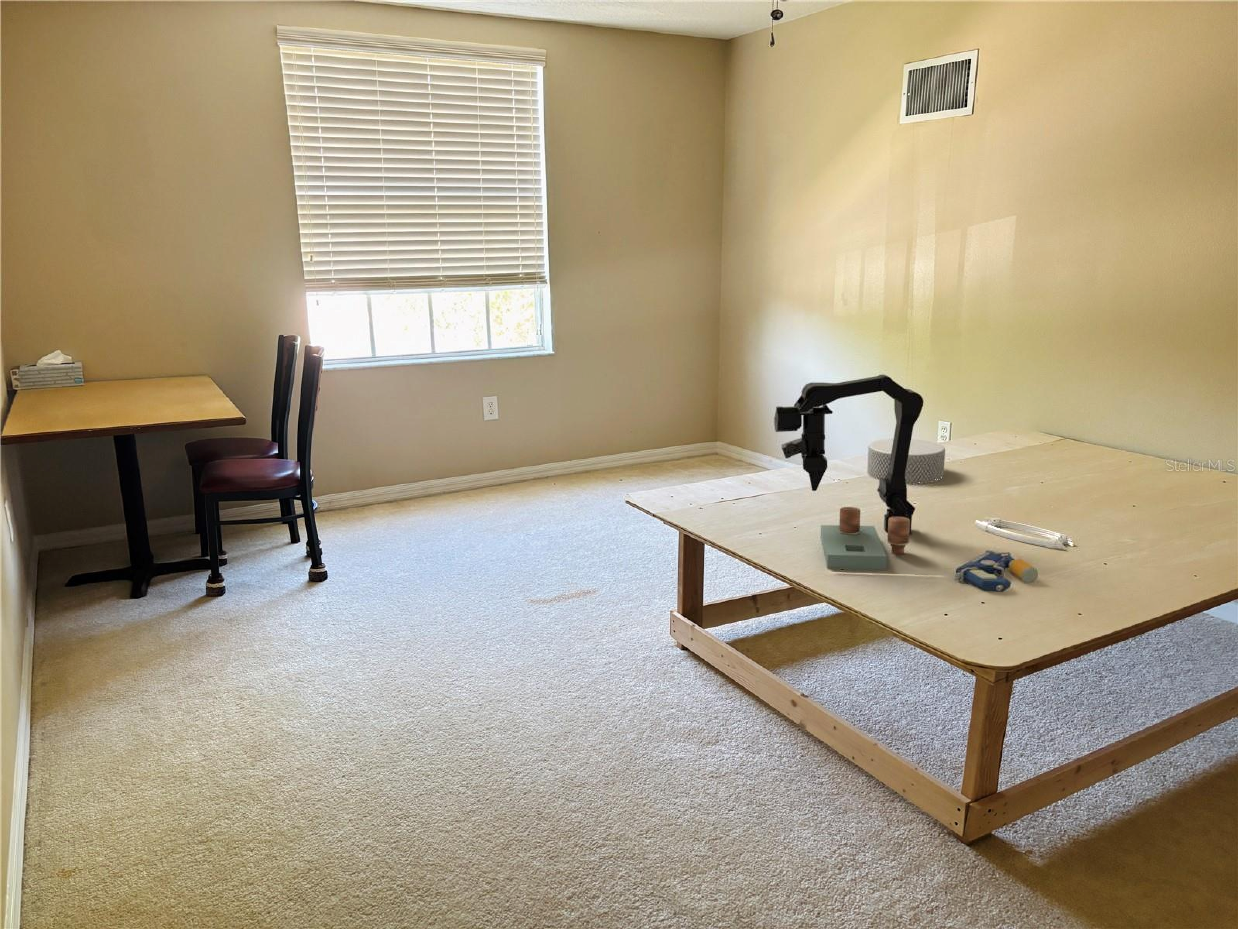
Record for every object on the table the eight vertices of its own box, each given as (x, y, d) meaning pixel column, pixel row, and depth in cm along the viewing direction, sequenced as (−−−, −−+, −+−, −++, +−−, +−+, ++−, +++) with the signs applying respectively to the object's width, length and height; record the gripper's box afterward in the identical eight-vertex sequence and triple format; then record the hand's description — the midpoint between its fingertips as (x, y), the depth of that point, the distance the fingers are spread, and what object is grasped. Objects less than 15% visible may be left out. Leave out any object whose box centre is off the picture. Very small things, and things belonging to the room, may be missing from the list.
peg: (906, 551, 216) (908, 516, 214) (909, 558, 211) (912, 523, 209) (885, 551, 217) (886, 516, 215) (888, 558, 212) (890, 522, 210)
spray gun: (1050, 575, 199) (989, 560, 210) (1051, 558, 198) (989, 544, 209) (1009, 602, 186) (946, 585, 197) (1010, 584, 185) (946, 568, 196)
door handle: (989, 523, 238) (1078, 545, 218) (969, 530, 232) (1059, 553, 212) (989, 513, 237) (1079, 535, 217) (969, 521, 232) (1060, 543, 212)
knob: (882, 462, 306) (856, 477, 287) (883, 435, 304) (857, 449, 285) (952, 471, 292) (930, 488, 272) (954, 442, 289) (931, 457, 270)
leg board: (873, 540, 226) (874, 526, 225) (886, 571, 204) (886, 556, 203) (820, 538, 228) (820, 525, 227) (827, 570, 206) (827, 554, 205)
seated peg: (858, 540, 224) (859, 507, 222) (860, 547, 219) (861, 513, 217) (837, 540, 225) (838, 506, 222) (839, 547, 220) (840, 512, 217)
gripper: (782, 423, 235) (783, 477, 239) (783, 438, 217) (783, 495, 221) (823, 423, 233) (823, 476, 237) (827, 437, 215) (827, 495, 219)
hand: (813, 486), depth 228 cm, fingers open, 9 cm apart
